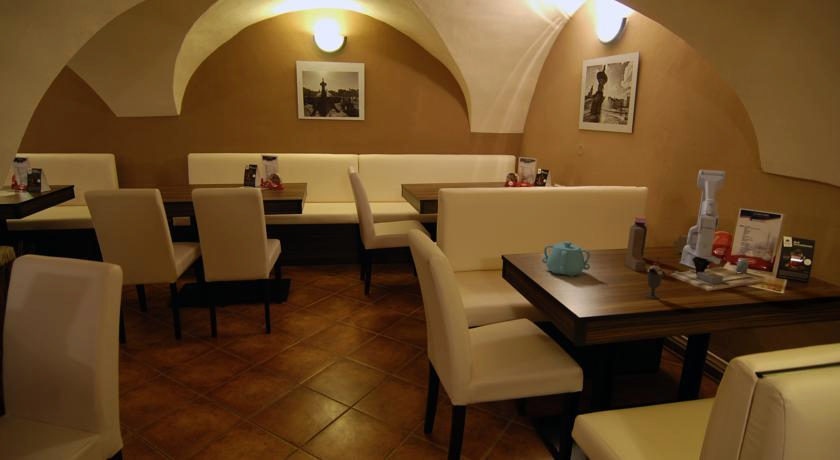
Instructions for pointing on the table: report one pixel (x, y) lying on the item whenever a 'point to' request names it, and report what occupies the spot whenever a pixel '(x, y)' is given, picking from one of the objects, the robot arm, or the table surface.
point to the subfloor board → (728, 276)
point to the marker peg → (742, 265)
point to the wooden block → (635, 249)
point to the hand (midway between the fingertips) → (699, 275)
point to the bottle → (641, 222)
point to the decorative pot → (566, 259)
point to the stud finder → (709, 277)
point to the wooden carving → (680, 243)
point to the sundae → (654, 279)
